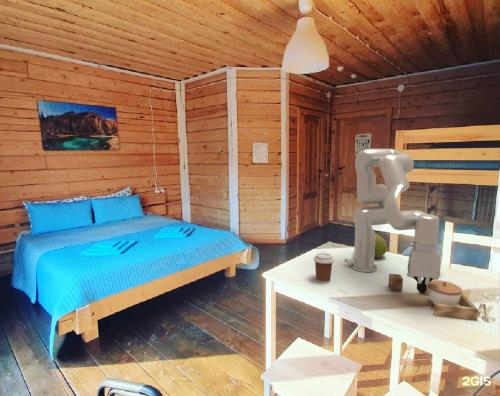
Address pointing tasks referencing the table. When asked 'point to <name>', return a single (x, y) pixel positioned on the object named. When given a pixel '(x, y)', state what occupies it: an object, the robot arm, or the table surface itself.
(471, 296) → the table surface
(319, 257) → the coffee cup
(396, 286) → the walnut block
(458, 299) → the lidded jar
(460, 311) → the holder
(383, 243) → the fruit
